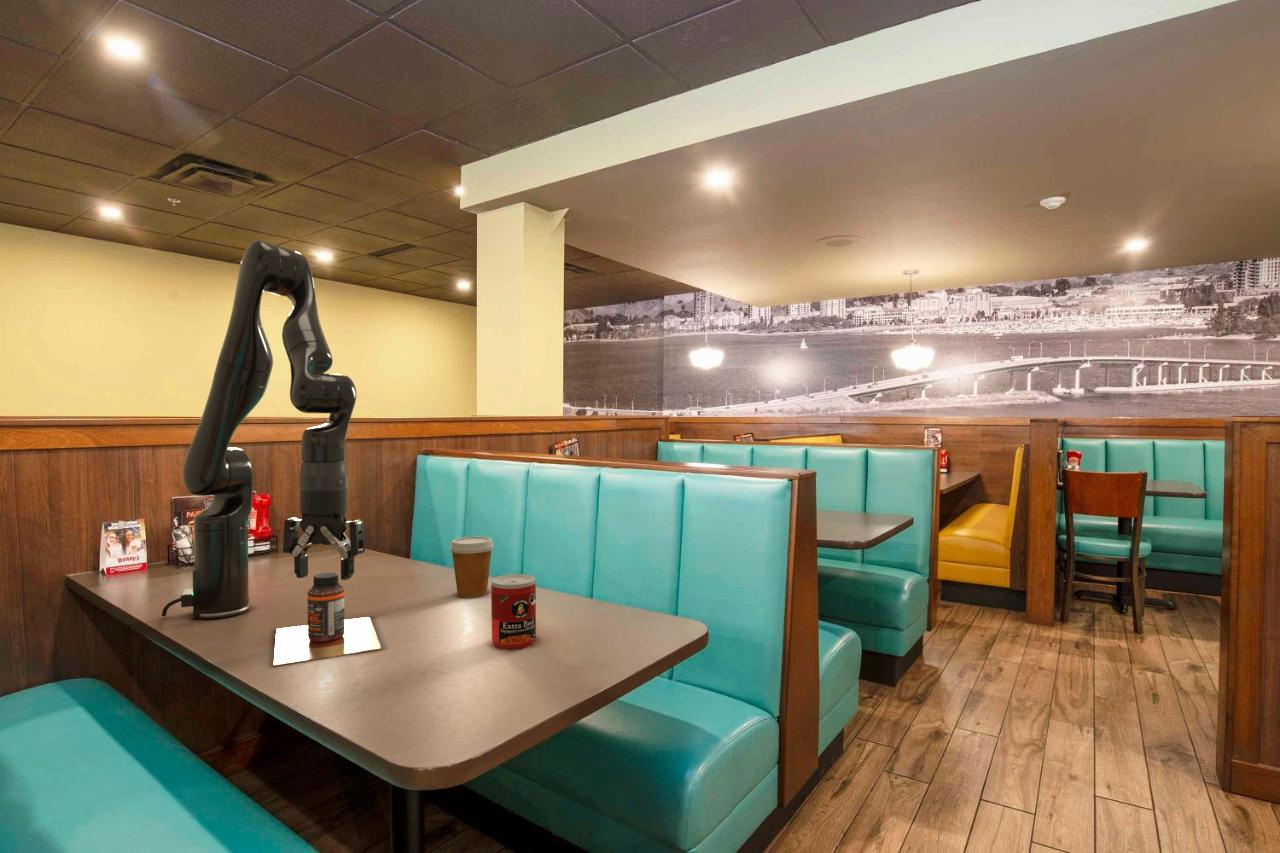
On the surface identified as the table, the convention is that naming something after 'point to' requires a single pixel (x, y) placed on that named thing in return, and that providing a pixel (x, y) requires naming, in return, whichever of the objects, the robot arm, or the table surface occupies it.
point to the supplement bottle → (326, 608)
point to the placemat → (324, 643)
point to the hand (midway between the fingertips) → (324, 578)
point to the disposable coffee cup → (471, 565)
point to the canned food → (513, 611)
